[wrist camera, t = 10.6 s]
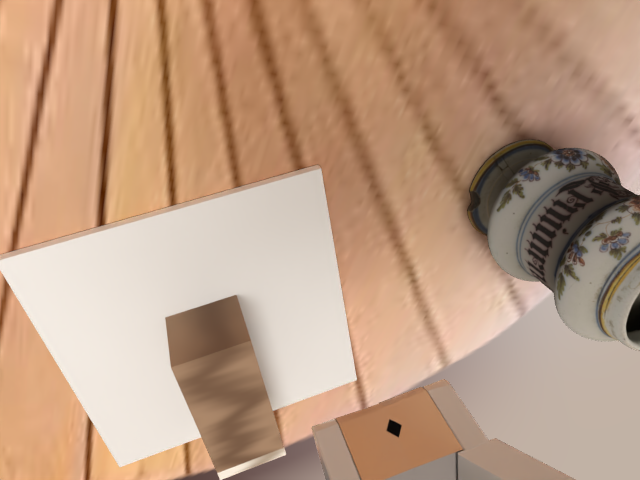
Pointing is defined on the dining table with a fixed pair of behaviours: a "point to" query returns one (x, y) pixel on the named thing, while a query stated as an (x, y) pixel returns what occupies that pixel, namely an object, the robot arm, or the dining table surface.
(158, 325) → the white mat
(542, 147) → the apothecary jar
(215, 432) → the walnut block
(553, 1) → the dining table surface
